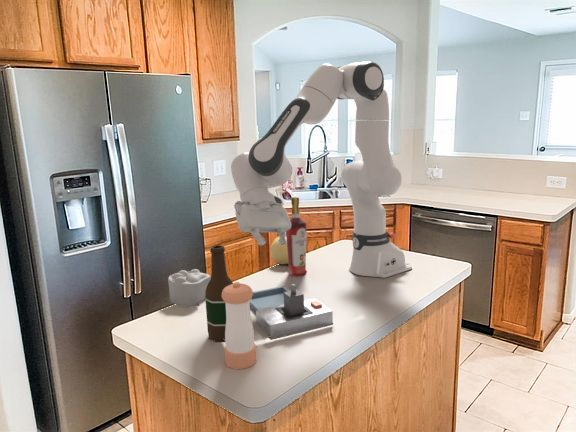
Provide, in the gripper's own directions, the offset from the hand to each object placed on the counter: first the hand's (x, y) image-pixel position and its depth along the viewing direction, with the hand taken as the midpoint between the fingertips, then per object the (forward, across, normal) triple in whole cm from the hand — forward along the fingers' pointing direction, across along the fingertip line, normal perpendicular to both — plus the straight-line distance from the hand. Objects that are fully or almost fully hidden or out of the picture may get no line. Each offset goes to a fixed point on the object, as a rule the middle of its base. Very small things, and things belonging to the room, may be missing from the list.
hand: (273, 244), depth 133 cm
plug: (+23, -3, 0) cm, 23 cm away
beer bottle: (+20, -18, +12) cm, 30 cm away
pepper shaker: (+29, -24, +2) cm, 38 cm away
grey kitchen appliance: (+24, -3, +1) cm, 24 cm away
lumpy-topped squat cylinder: (+3, -8, +33) cm, 34 cm away
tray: (+15, +3, +11) cm, 19 cm away
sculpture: (-5, +37, +26) cm, 46 cm away
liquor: (+5, +28, +16) cm, 33 cm away
